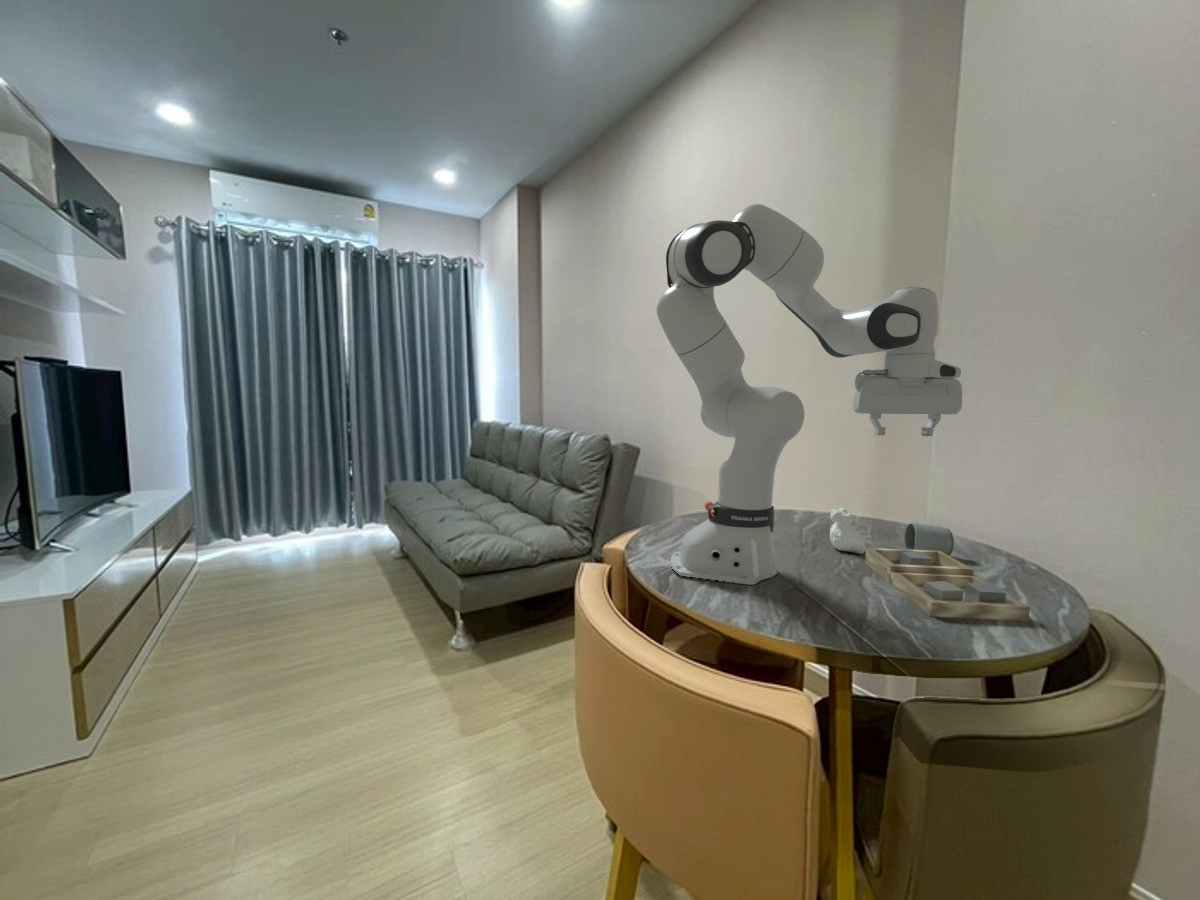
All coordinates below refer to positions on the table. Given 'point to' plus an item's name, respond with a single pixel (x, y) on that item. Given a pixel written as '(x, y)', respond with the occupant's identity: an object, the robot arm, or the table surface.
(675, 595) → the table surface
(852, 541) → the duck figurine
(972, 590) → the stone right
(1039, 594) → the table surface
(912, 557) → the stone mid
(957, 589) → the block
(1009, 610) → the tray
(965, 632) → the table surface
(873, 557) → the tray
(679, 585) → the table surface
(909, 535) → the ceramic mug
